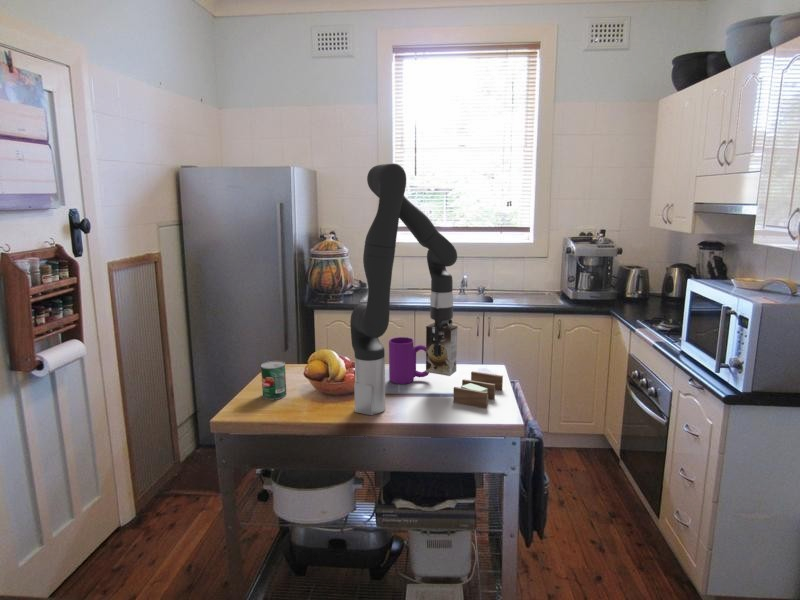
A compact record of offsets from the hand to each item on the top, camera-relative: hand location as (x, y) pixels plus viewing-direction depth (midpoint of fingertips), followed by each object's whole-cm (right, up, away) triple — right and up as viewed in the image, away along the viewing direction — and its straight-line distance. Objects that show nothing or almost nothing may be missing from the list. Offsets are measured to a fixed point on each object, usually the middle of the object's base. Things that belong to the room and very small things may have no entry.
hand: (441, 352), depth 177 cm
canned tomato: (-56, -15, 0) cm, 58 cm away
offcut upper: (+10, -13, -7) cm, 18 cm away
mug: (-10, -12, +13) cm, 20 cm away
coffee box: (0, -7, +1) cm, 7 cm away
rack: (+12, -14, -2) cm, 19 cm away
